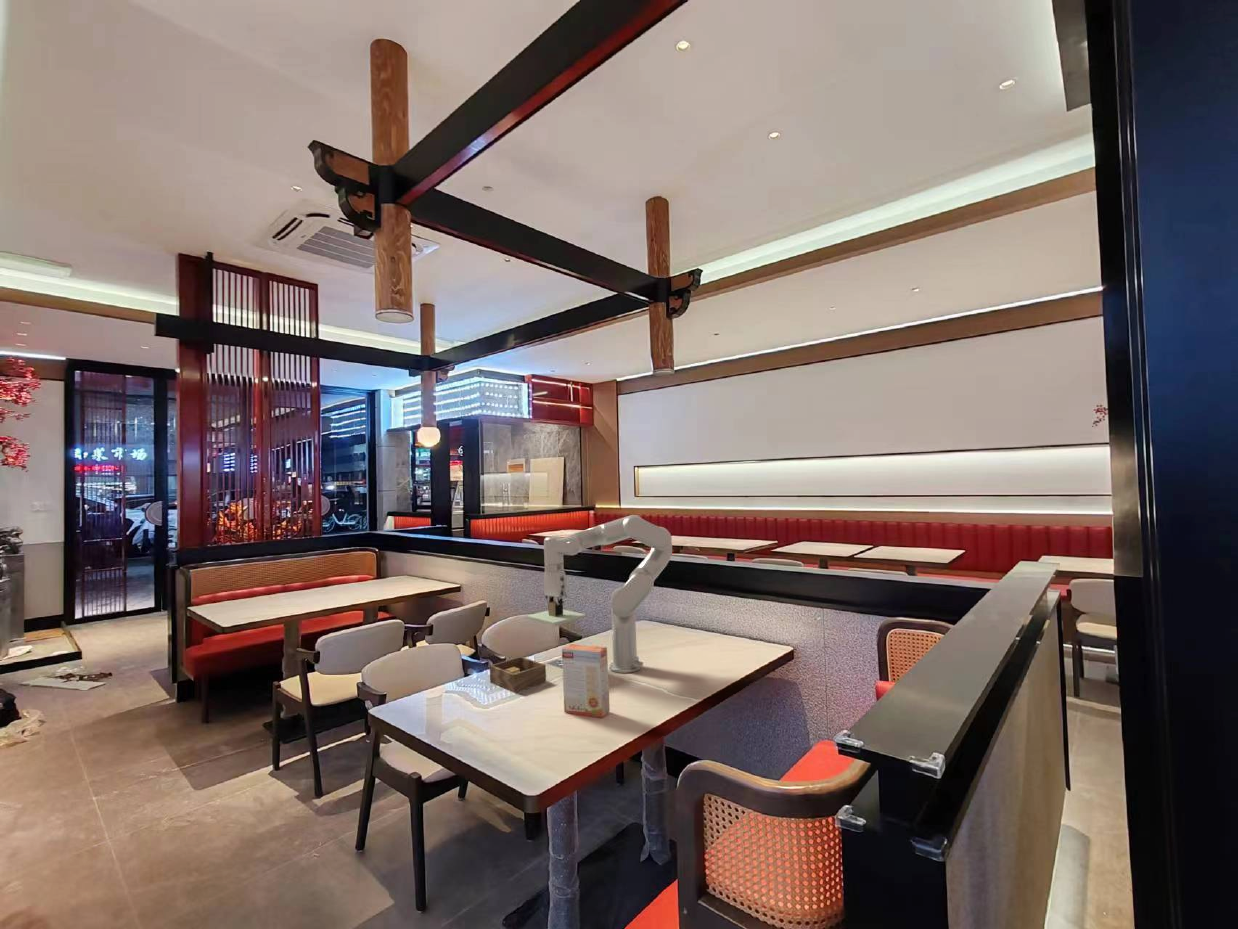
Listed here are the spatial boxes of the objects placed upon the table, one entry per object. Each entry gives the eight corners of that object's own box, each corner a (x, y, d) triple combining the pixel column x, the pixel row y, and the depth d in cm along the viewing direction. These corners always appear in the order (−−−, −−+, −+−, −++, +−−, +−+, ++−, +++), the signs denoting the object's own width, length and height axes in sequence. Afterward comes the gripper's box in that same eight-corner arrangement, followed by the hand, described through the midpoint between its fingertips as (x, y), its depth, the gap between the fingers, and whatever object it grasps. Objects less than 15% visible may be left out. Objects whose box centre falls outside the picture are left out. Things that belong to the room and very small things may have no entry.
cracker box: (610, 711, 179) (607, 646, 180) (602, 719, 174) (599, 651, 174) (572, 705, 185) (570, 642, 186) (563, 712, 180) (561, 647, 180)
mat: (591, 669, 220) (591, 668, 220) (555, 682, 207) (555, 681, 207) (560, 659, 234) (560, 658, 234) (524, 671, 221) (524, 670, 221)
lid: (585, 619, 220) (585, 601, 221) (554, 628, 209) (553, 609, 209) (557, 613, 233) (557, 596, 233) (526, 620, 222) (525, 603, 222)
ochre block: (520, 679, 210) (519, 668, 210) (511, 682, 207) (510, 671, 207) (514, 677, 212) (513, 666, 213) (505, 680, 210) (504, 669, 210)
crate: (546, 683, 206) (545, 664, 207) (514, 695, 197) (513, 675, 197) (521, 674, 218) (520, 656, 218) (490, 684, 208) (489, 665, 208)
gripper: (574, 568, 218) (576, 614, 218) (548, 564, 230) (550, 609, 230) (559, 570, 213) (561, 618, 213) (534, 567, 225) (535, 612, 224)
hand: (555, 613), depth 221 cm, fingers closed on lid, 4 cm apart
